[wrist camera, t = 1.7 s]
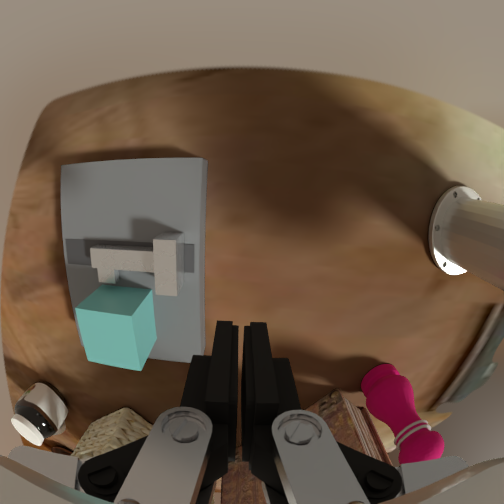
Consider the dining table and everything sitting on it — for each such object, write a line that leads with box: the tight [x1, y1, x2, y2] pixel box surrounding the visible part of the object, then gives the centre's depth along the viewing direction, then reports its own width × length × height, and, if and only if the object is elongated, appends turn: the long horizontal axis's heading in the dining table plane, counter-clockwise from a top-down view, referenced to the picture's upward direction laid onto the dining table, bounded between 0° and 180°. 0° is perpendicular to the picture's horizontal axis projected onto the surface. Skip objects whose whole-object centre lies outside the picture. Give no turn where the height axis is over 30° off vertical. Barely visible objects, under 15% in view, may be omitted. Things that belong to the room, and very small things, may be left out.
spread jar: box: [11, 381, 68, 446], centre depth 31 cm, size 12×11×12 cm
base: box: [61, 158, 208, 363], centre depth 28 cm, size 16×22×4 cm
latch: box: [90, 232, 184, 296], centre depth 24 cm, size 10×5×3 cm, turn 87°
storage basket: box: [70, 408, 215, 504], centre depth 32 cm, size 24×16×15 cm
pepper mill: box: [361, 364, 444, 465], centre depth 26 cm, size 7×7×20 cm
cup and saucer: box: [52, 447, 72, 456], centre depth 40 cm, size 12×12×6 cm
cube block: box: [75, 285, 157, 371], centre depth 24 cm, size 6×6×6 cm
